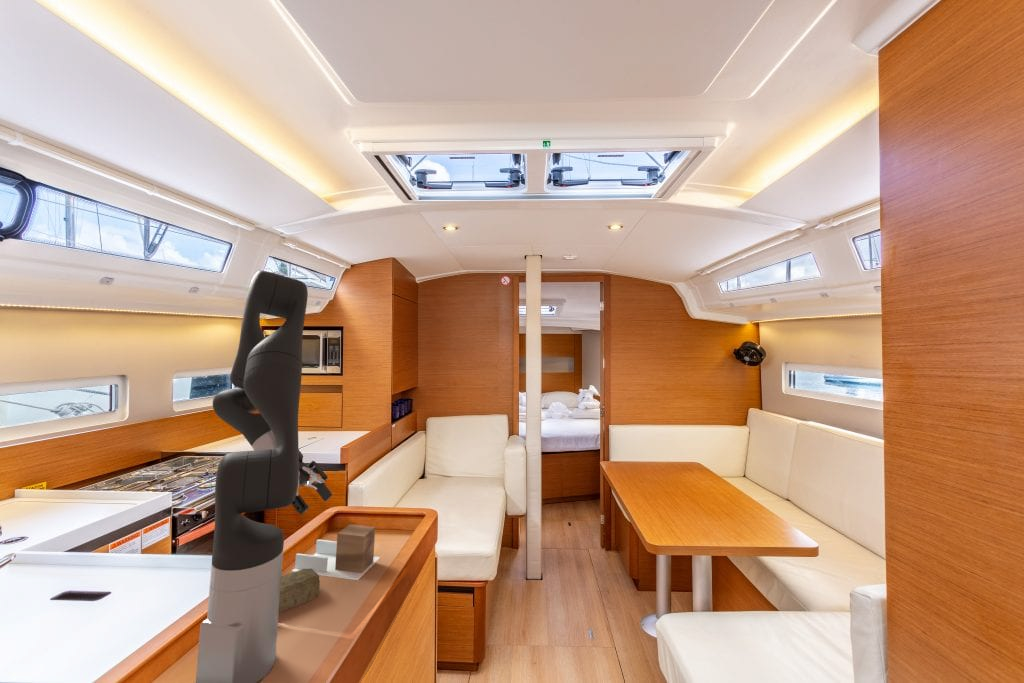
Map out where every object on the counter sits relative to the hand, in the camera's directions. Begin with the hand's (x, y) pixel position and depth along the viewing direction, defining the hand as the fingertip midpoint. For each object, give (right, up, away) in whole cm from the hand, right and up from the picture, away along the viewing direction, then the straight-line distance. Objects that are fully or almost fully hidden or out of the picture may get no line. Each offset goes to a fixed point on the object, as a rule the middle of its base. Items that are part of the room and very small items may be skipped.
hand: (317, 504), depth 90 cm
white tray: (+4, -14, -1) cm, 14 cm away
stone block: (+2, -13, -16) cm, 21 cm away
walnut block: (+10, -13, -2) cm, 16 cm away
